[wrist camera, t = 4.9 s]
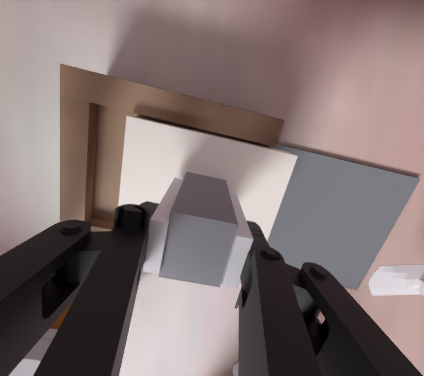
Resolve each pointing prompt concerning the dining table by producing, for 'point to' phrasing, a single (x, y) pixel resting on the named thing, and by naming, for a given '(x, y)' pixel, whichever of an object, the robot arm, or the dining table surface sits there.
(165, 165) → the cover plate
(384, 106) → the dining table surface
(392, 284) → the heart sculpture
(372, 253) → the rubber mat
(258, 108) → the dining table surface
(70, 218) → the slide box
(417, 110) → the dining table surface
